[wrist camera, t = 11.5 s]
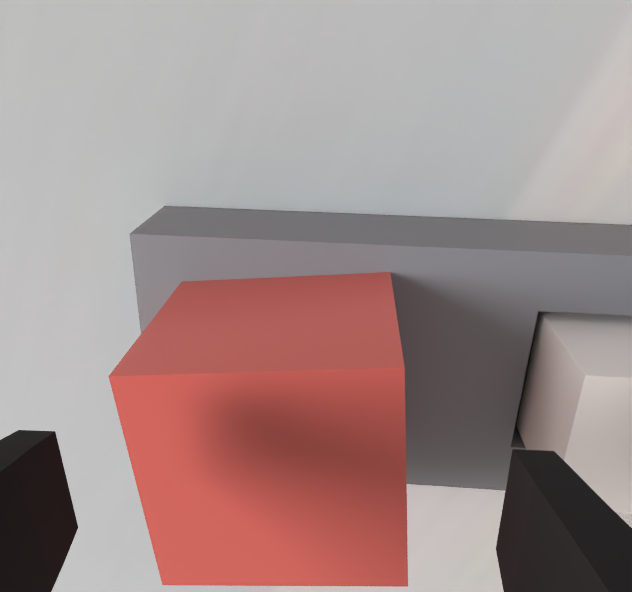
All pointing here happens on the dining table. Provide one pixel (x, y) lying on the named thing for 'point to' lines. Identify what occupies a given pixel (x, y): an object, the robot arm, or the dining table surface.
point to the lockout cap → (271, 432)
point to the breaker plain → (583, 399)
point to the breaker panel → (417, 304)
